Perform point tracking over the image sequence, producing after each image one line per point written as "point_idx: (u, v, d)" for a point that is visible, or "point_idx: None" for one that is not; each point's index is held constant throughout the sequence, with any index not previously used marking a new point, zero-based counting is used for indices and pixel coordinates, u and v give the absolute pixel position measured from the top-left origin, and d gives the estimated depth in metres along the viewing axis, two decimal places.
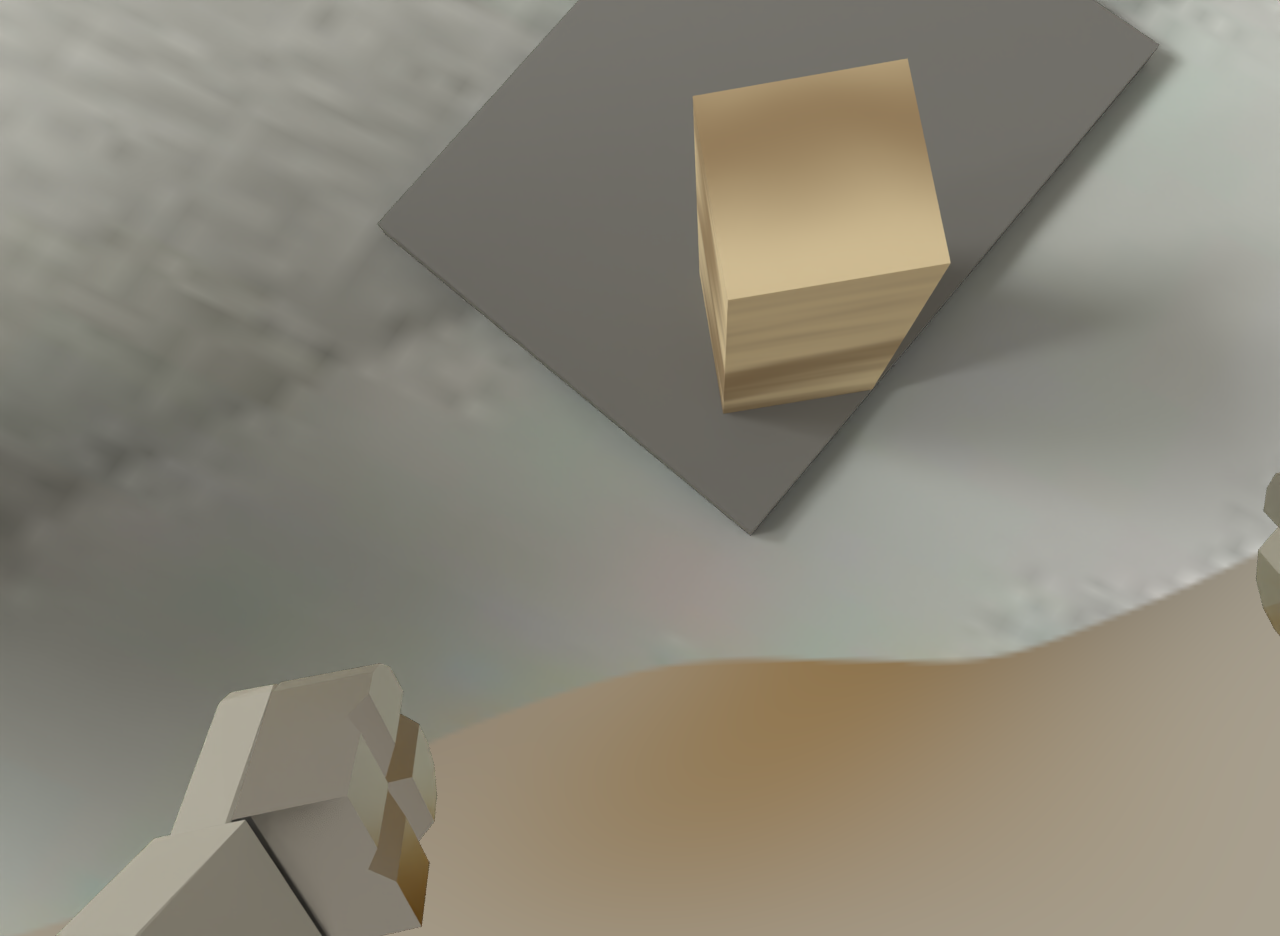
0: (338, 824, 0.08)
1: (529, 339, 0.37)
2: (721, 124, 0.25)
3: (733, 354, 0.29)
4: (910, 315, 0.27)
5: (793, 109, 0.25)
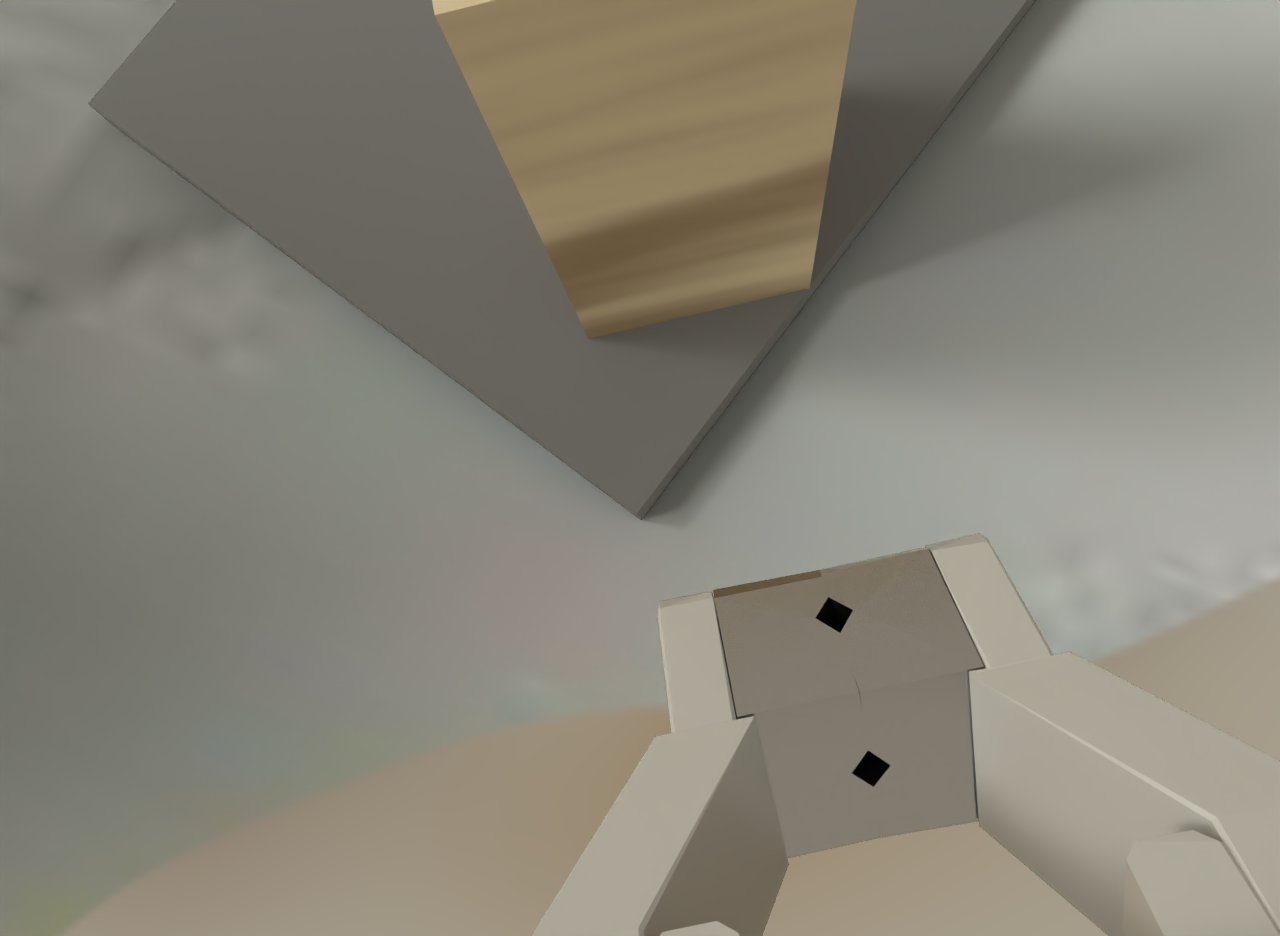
0: (840, 722, 0.08)
1: (303, 250, 0.25)
2: None
3: (534, 193, 0.17)
4: (827, 91, 0.15)
5: None
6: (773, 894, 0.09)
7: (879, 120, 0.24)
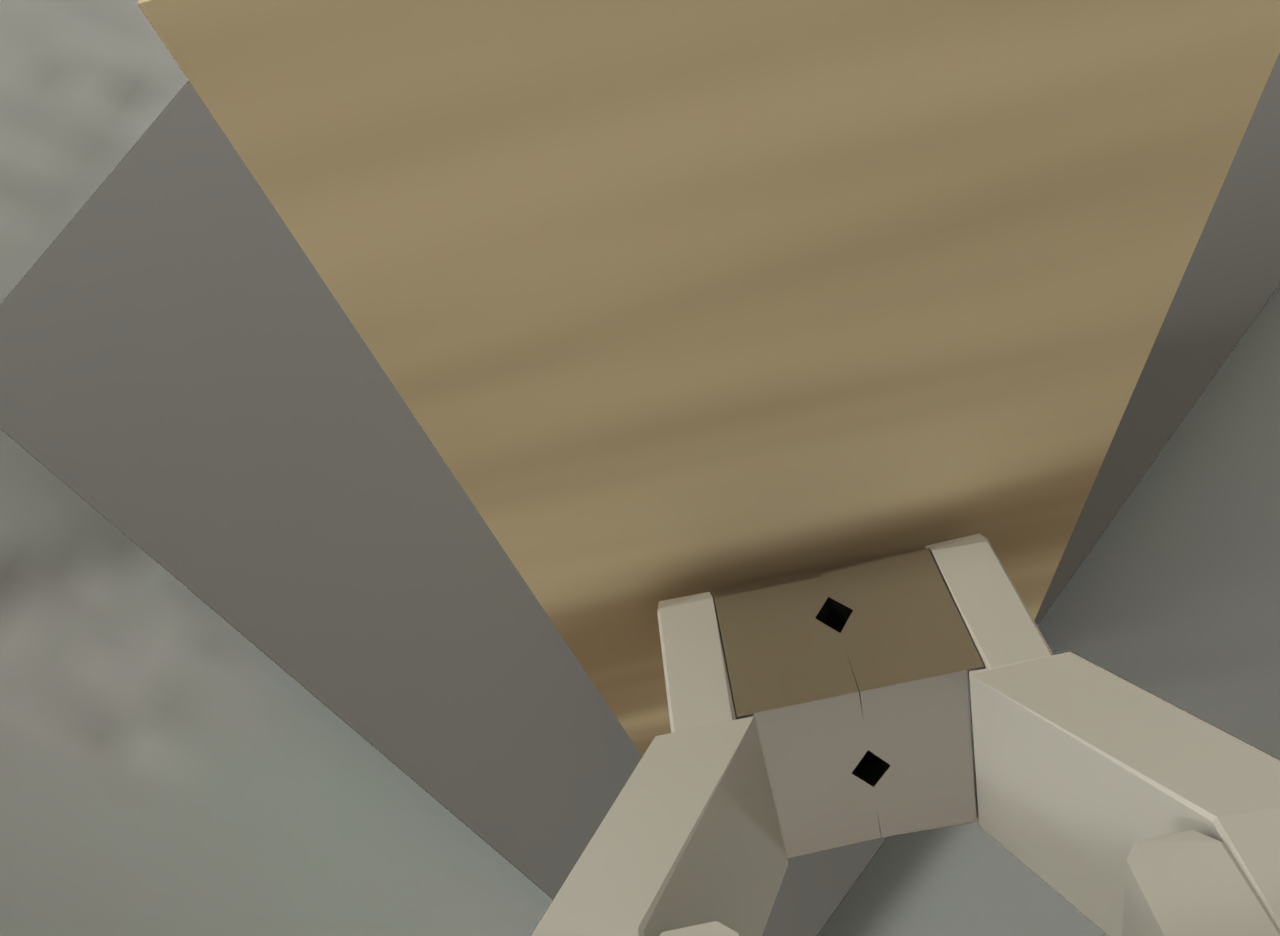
0: (840, 722, 0.08)
1: (238, 609, 0.17)
2: None
3: (515, 518, 0.08)
4: (1139, 306, 0.07)
5: None
6: (773, 894, 0.09)
7: None
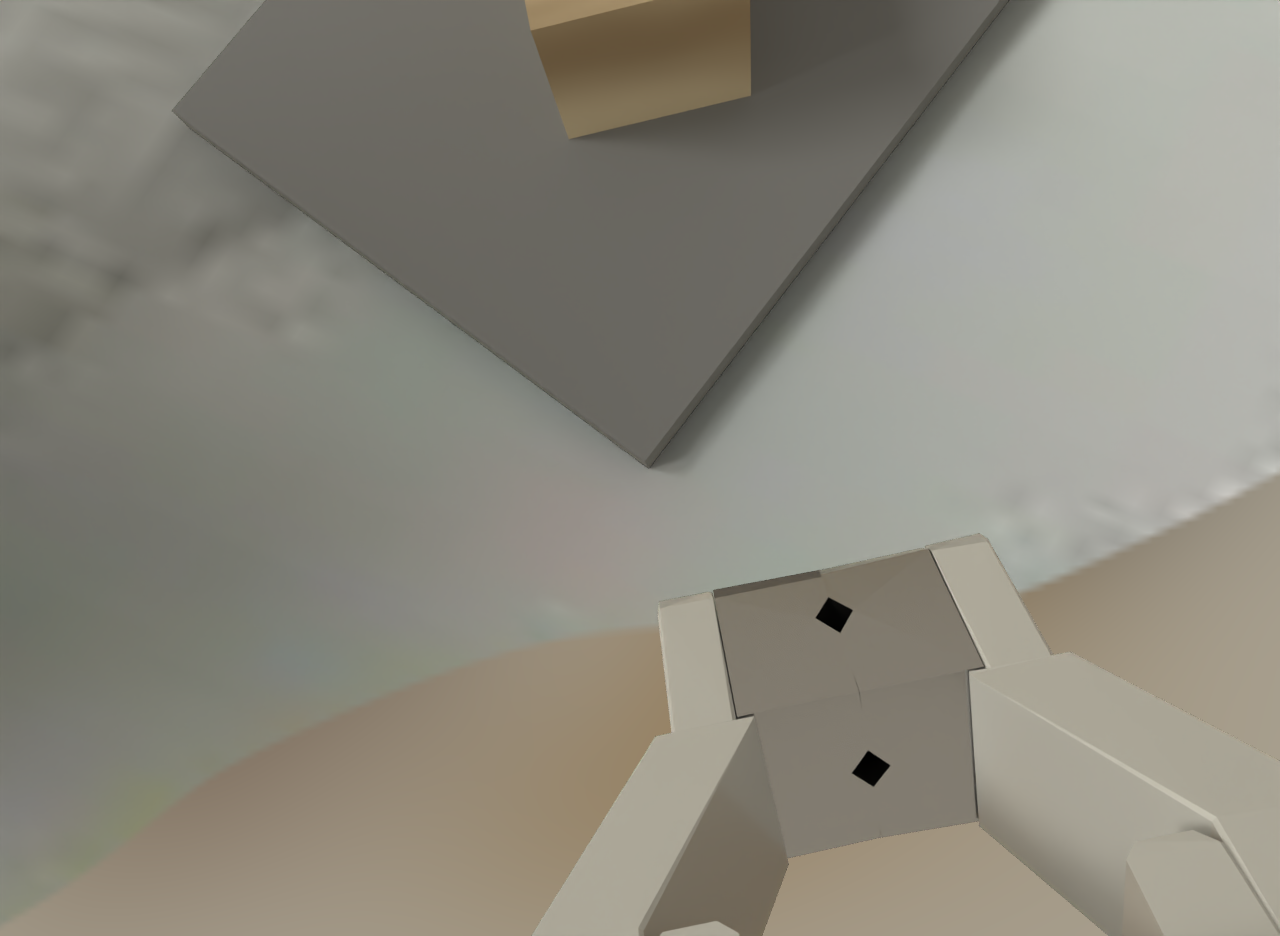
0: (840, 722, 0.08)
1: (358, 237, 0.29)
2: None
3: None
4: None
5: None
6: (773, 894, 0.09)
7: (854, 126, 0.28)
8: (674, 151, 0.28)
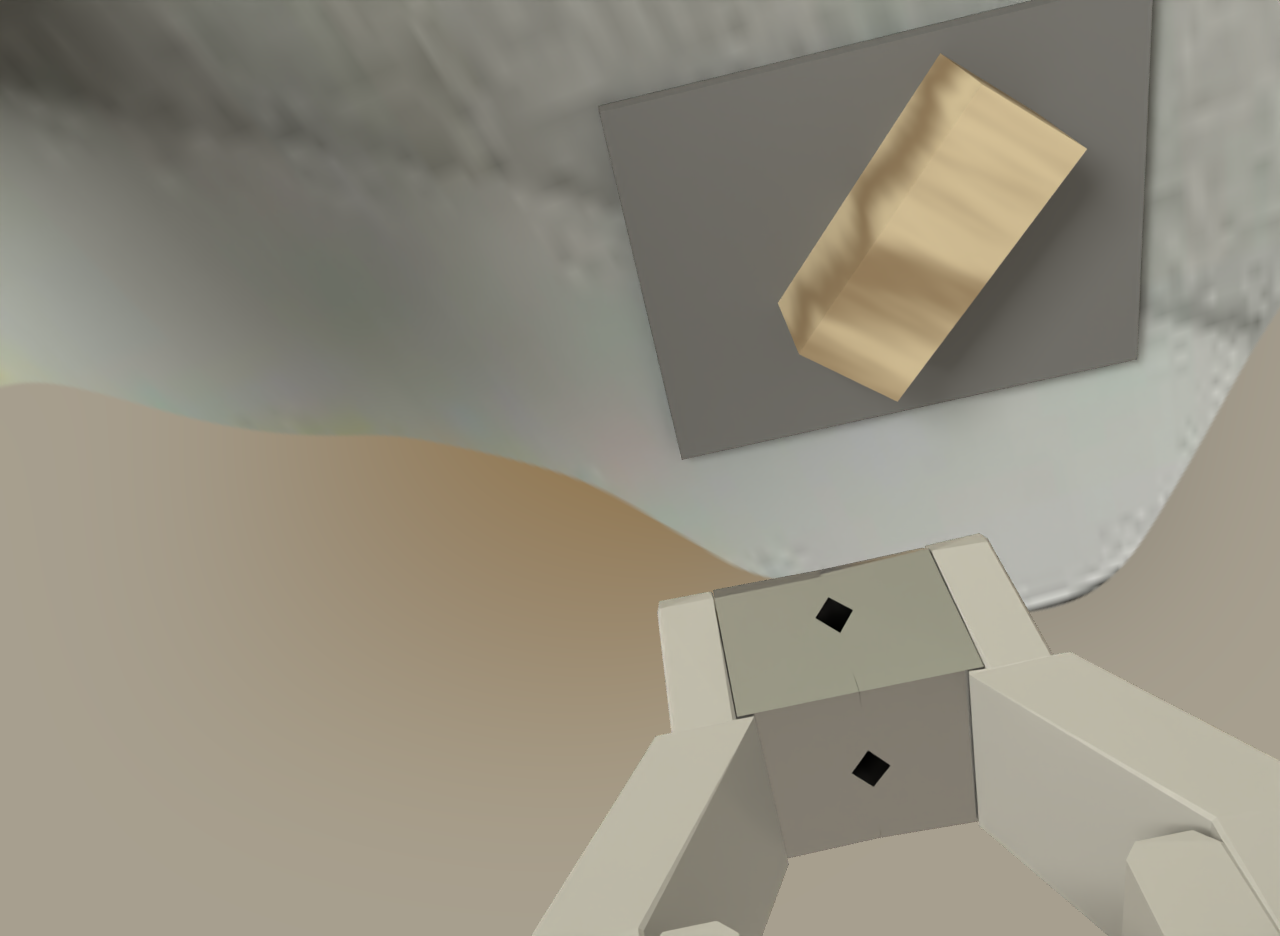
0: (840, 722, 0.08)
1: (643, 270, 0.47)
2: (957, 64, 0.42)
3: (908, 201, 0.40)
4: (1018, 232, 0.41)
5: (990, 85, 0.42)
6: (773, 895, 0.09)
7: None
8: None
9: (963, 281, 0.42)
